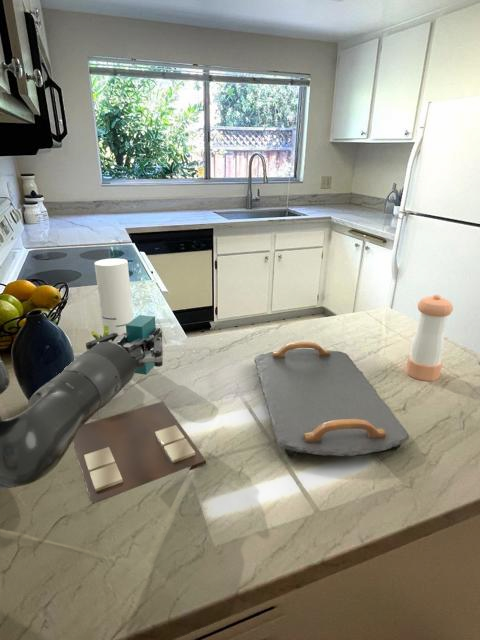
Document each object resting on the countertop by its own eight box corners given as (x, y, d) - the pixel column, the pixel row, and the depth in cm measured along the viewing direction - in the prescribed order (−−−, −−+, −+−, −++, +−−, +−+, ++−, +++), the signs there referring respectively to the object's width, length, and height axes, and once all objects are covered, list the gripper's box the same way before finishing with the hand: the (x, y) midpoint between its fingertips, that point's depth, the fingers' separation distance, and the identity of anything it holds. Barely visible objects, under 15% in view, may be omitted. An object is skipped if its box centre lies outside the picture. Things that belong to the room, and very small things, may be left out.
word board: (92, 508, 57) (90, 500, 57) (69, 432, 73) (68, 425, 73) (206, 463, 66) (206, 457, 65) (163, 404, 82) (162, 398, 81)
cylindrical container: (113, 354, 103) (101, 258, 94) (141, 355, 102) (131, 258, 93) (103, 368, 96) (89, 265, 87) (133, 368, 96) (121, 266, 87)
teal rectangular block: (130, 372, 70) (125, 325, 67) (143, 360, 75) (139, 314, 71) (146, 374, 70) (141, 326, 66) (158, 361, 74) (154, 316, 71)
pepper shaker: (400, 373, 94) (413, 295, 87) (413, 362, 99) (426, 288, 92) (432, 384, 89) (448, 302, 82) (444, 373, 94) (460, 295, 87)
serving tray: (251, 360, 100) (251, 337, 97) (342, 356, 102) (344, 334, 99) (280, 472, 64) (282, 440, 62) (419, 463, 66) (426, 431, 64)
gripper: (138, 359, 54) (185, 315, 70) (48, 348, 57) (112, 309, 73) (143, 406, 57) (187, 354, 73) (57, 394, 60) (117, 346, 76)
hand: (149, 331), depth 73 cm, fingers closed on teal rectangular block, 3 cm apart
